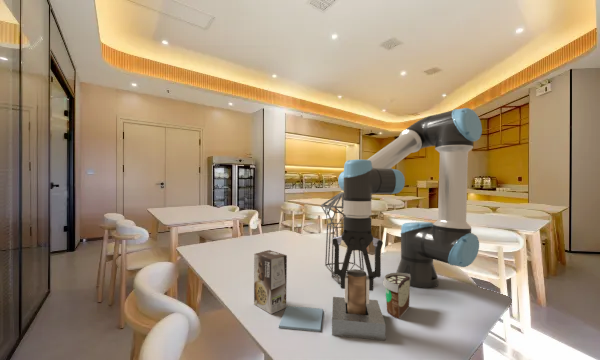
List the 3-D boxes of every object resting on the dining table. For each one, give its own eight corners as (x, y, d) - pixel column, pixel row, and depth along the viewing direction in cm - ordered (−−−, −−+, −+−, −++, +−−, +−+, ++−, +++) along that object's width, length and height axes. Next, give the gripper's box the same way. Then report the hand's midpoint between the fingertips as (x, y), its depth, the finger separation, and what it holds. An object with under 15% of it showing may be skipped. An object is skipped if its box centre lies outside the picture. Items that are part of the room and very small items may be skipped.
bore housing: (377, 313, 76) (377, 300, 76) (385, 340, 63) (385, 324, 63) (332, 310, 78) (333, 296, 78) (331, 335, 65) (332, 319, 65)
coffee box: (287, 307, 79) (287, 255, 79) (270, 314, 75) (271, 259, 75) (269, 297, 86) (269, 249, 86) (252, 304, 81) (253, 252, 81)
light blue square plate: (322, 310, 77) (322, 308, 77) (320, 331, 66) (320, 329, 66) (286, 307, 79) (286, 305, 79) (278, 327, 68) (278, 325, 68)
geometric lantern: (331, 288, 94) (330, 192, 95) (320, 274, 109) (319, 192, 110) (371, 285, 97) (370, 192, 98) (355, 271, 112) (353, 191, 113)
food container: (391, 299, 85) (391, 269, 85) (410, 305, 81) (410, 273, 81) (376, 314, 76) (376, 280, 76) (397, 321, 72) (397, 285, 72)
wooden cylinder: (364, 319, 72) (365, 269, 73) (366, 329, 68) (367, 276, 68) (346, 318, 73) (347, 268, 73) (347, 327, 68) (347, 275, 68)
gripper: (388, 215, 73) (387, 297, 73) (325, 213, 76) (324, 292, 75) (394, 218, 66) (393, 310, 65) (323, 216, 68) (322, 304, 68)
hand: (356, 300), depth 70 cm, fingers closed on wooden cylinder, 5 cm apart
